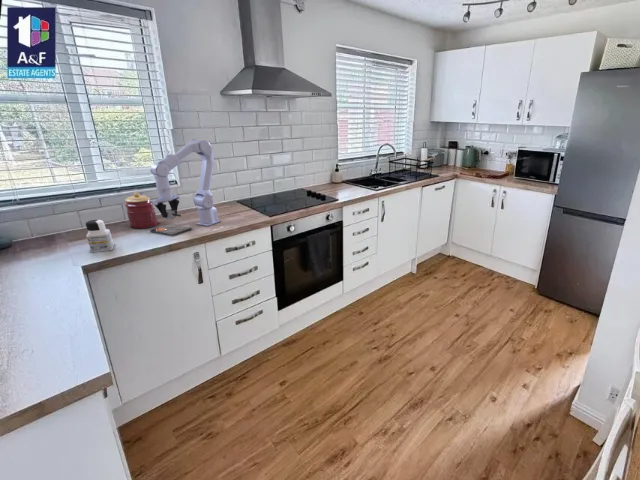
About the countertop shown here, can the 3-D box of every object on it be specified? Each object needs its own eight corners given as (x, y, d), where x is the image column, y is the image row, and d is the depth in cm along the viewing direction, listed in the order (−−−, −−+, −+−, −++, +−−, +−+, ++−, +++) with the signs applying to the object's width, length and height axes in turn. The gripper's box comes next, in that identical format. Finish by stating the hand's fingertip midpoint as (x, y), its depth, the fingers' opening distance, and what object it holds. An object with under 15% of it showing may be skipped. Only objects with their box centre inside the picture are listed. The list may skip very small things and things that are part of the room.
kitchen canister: (154, 228, 196) (145, 195, 188) (126, 229, 193) (117, 195, 185) (161, 221, 207) (153, 189, 199) (135, 222, 204) (126, 190, 196)
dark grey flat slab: (169, 225, 201) (169, 223, 200) (191, 229, 196) (191, 227, 196) (150, 232, 191) (150, 229, 190) (172, 236, 186) (172, 234, 186)
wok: (171, 216, 192) (169, 208, 191) (186, 218, 189) (184, 210, 188) (161, 219, 187) (159, 211, 186) (177, 221, 185) (175, 213, 183)
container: (91, 252, 164) (81, 224, 158) (94, 246, 170) (84, 219, 164) (112, 250, 167) (103, 222, 161) (114, 244, 173) (105, 217, 167)
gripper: (169, 185, 190) (175, 211, 196) (144, 190, 177) (151, 218, 184) (180, 187, 188) (185, 213, 194) (156, 192, 175) (162, 220, 182)
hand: (170, 215), depth 189 cm, fingers closed on wok, 5 cm apart
